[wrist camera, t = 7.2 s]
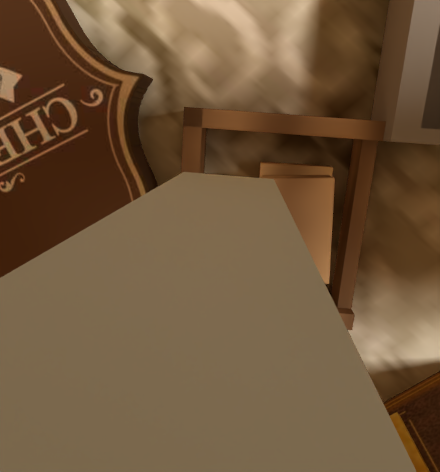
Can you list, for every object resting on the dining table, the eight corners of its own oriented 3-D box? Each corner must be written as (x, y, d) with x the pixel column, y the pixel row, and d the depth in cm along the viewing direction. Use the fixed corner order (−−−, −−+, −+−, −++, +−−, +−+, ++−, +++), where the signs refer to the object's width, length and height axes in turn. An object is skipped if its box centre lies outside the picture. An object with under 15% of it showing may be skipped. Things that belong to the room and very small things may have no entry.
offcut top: (328, 174, 29) (334, 178, 27) (323, 273, 31) (329, 283, 29) (262, 175, 29) (263, 178, 27) (260, 272, 31) (261, 282, 29)
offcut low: (327, 165, 31) (333, 167, 29) (315, 267, 33) (320, 276, 31) (260, 161, 31) (260, 163, 29) (252, 262, 33) (252, 271, 31)
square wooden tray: (370, 122, 30) (386, 121, 26) (341, 309, 33) (351, 329, 30) (191, 109, 30) (184, 107, 27) (181, 294, 34) (174, 313, 30)
